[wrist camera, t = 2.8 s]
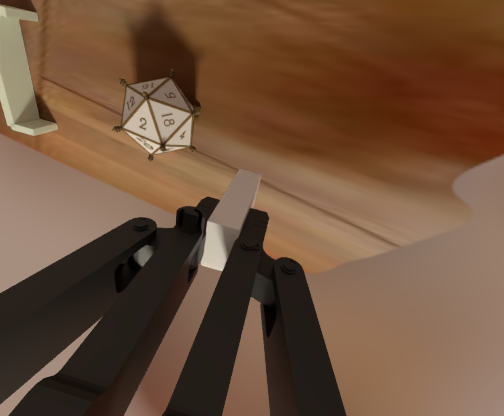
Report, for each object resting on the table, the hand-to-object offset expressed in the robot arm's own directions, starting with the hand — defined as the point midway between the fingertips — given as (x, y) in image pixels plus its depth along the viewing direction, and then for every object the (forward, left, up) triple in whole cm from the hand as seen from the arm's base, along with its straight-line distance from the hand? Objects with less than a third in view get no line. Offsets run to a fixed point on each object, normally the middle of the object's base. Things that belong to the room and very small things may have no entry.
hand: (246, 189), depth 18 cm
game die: (+6, +10, -14) cm, 18 cm away
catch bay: (+15, +26, -14) cm, 33 cm away
